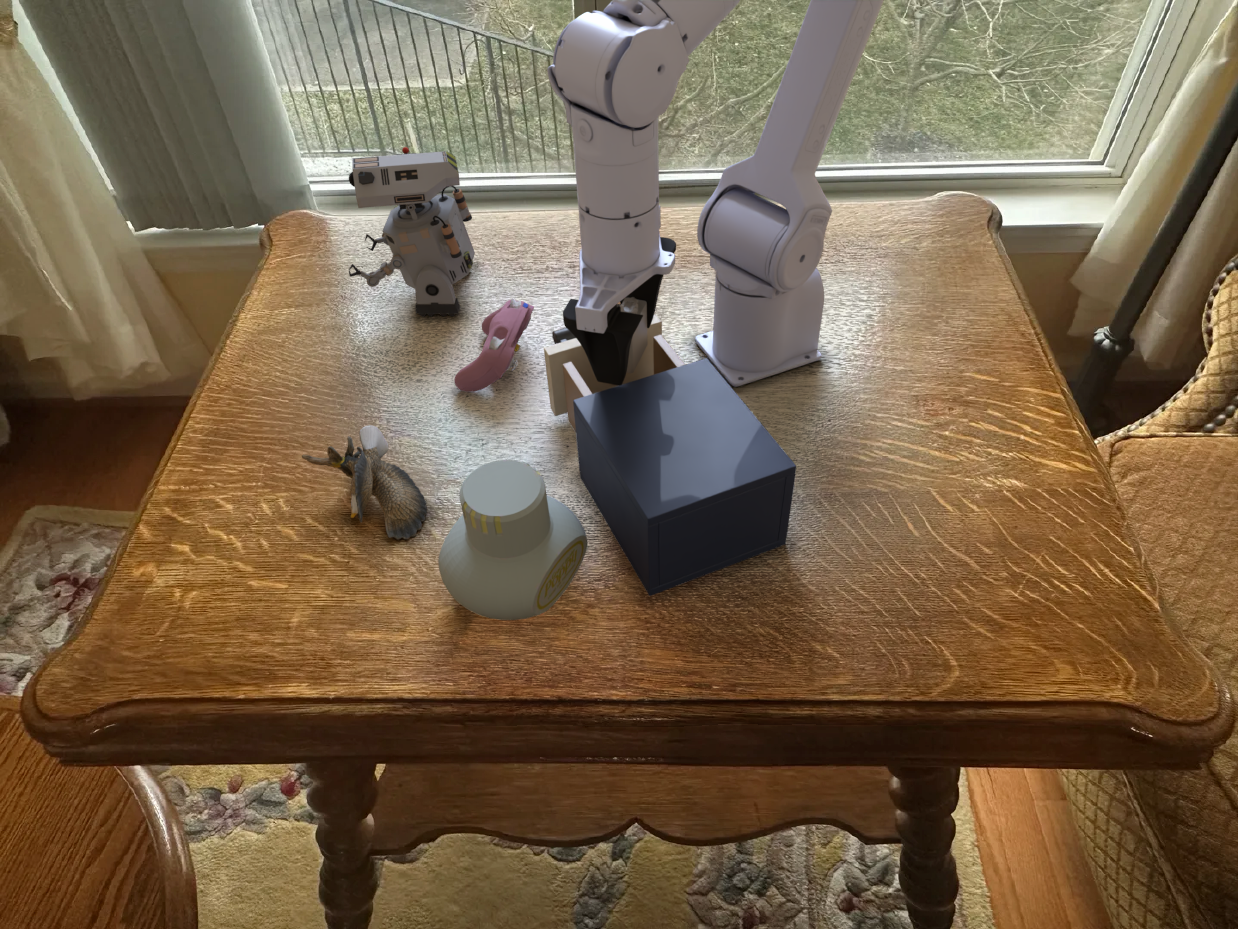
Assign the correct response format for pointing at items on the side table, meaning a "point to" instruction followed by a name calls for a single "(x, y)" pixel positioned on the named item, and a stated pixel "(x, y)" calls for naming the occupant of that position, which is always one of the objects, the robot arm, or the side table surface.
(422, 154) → the figurine
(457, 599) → the air freshener
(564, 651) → the side table surface
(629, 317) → the robot arm
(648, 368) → the drawer
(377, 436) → the eagle figurine
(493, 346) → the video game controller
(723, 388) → the cabinet
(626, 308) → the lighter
